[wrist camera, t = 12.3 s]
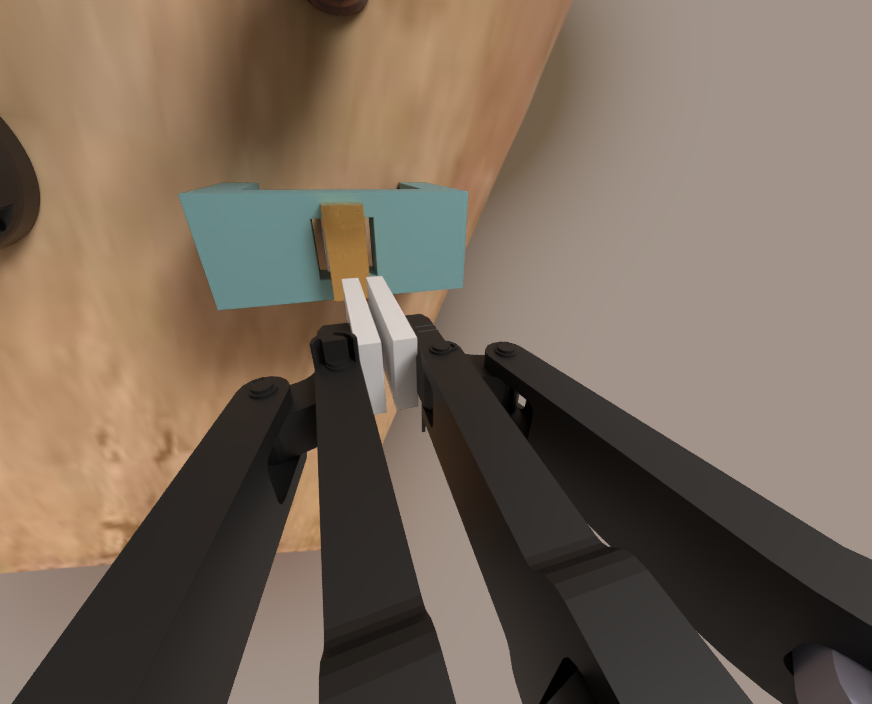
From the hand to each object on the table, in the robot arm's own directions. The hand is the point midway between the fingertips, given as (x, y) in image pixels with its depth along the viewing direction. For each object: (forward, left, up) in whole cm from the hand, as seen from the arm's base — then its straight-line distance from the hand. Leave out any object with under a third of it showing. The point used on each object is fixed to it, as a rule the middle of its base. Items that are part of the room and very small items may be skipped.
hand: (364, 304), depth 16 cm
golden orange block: (0, 0, -24) cm, 24 cm away
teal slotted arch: (0, 0, -24) cm, 24 cm away
